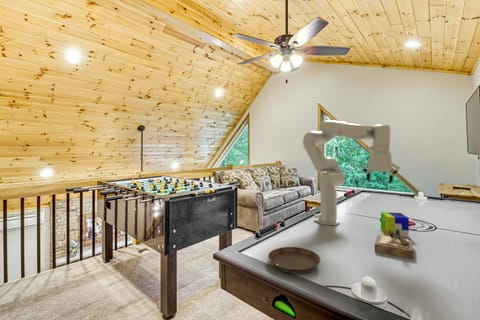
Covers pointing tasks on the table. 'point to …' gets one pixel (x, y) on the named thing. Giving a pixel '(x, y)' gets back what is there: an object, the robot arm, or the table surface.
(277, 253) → the plant saucer
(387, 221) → the puzzle toy
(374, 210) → the table surface
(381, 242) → the walnut tray
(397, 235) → the eagle figurine
